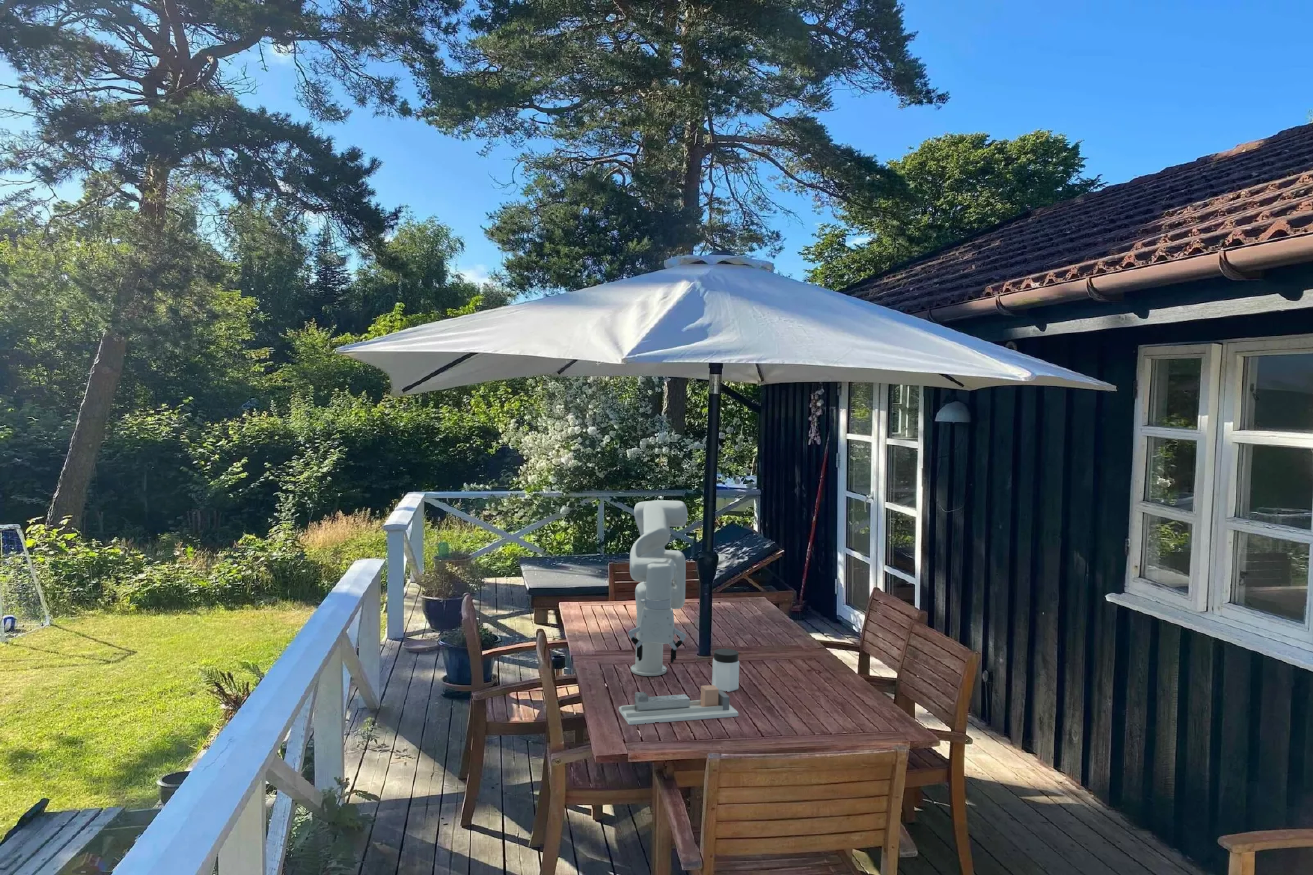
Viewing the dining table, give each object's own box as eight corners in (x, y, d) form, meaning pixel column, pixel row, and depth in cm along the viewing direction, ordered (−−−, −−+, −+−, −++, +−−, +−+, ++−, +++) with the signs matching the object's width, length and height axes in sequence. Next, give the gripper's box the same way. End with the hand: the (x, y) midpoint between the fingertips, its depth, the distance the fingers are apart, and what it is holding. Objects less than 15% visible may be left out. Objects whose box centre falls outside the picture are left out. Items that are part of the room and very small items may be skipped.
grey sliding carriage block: (634, 709, 257) (635, 692, 257) (685, 706, 262) (685, 689, 262) (638, 714, 253) (638, 696, 253) (689, 710, 258) (689, 693, 258)
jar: (725, 682, 291) (726, 646, 291) (743, 688, 285) (744, 652, 285) (706, 687, 285) (708, 651, 285) (725, 693, 279) (726, 657, 279)
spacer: (700, 705, 264) (701, 685, 264) (713, 704, 265) (714, 685, 265) (704, 709, 260) (705, 690, 260) (717, 709, 261) (718, 689, 261)
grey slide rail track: (618, 710, 260) (619, 693, 260) (723, 703, 270) (724, 686, 270) (629, 724, 249) (629, 707, 248) (738, 716, 258) (738, 699, 258)
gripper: (627, 604, 253) (625, 662, 254) (685, 608, 251) (683, 666, 251) (631, 599, 261) (629, 655, 261) (688, 602, 258) (686, 659, 259)
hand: (656, 660), depth 256 cm, fingers open, 9 cm apart
